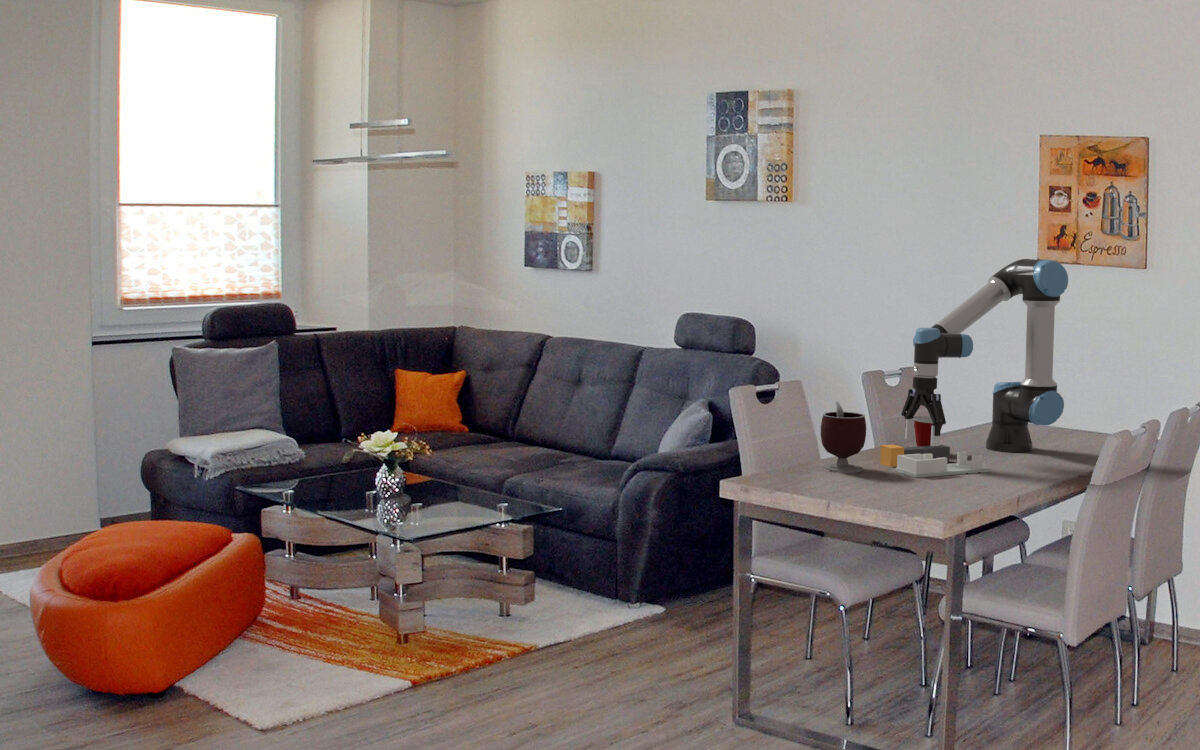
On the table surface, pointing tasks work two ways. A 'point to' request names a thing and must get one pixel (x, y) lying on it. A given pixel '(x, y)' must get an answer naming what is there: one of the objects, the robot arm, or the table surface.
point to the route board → (938, 465)
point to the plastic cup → (923, 430)
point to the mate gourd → (843, 438)
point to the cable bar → (891, 452)
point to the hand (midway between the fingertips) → (921, 442)
